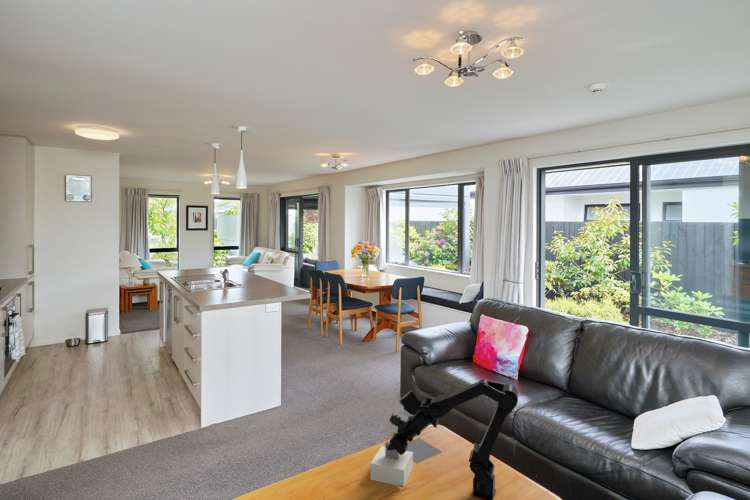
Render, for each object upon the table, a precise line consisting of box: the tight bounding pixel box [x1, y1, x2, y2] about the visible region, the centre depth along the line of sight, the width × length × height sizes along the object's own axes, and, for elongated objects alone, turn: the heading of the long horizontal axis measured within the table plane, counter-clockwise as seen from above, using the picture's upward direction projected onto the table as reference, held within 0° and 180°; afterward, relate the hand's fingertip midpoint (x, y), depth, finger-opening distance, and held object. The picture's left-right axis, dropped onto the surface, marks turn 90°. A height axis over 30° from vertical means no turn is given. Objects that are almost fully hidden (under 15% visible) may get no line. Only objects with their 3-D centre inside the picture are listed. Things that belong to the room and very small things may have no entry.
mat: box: [406, 437, 443, 464], centre depth 165 cm, size 14×14×1 cm
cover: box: [369, 440, 414, 487], centre depth 150 cm, size 13×13×11 cm
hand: (389, 447), depth 150 cm, fingers open, 2 cm apart
